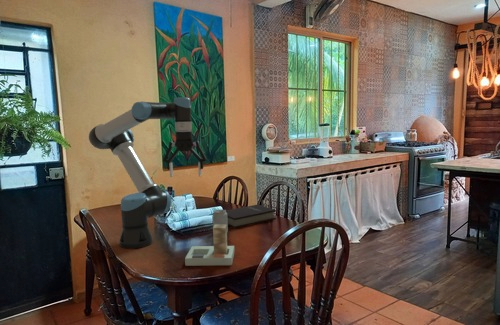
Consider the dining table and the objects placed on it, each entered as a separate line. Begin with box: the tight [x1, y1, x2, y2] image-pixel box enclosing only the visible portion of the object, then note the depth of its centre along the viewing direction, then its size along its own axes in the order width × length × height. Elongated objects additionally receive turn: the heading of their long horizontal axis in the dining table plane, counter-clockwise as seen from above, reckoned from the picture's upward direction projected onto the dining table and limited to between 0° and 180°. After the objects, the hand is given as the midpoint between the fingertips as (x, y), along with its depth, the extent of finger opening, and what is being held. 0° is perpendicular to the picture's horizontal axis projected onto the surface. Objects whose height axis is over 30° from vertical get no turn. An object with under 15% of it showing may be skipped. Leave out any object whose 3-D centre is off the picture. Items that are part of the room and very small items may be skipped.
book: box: [225, 204, 277, 229], centre depth 201 cm, size 28×20×6 cm
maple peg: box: [212, 224, 228, 255], centre depth 144 cm, size 5×5×14 cm
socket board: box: [184, 245, 235, 267], centre depth 145 cm, size 19×14×4 cm
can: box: [212, 209, 229, 233], centre depth 177 cm, size 8×8×12 cm
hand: (185, 176), depth 164 cm, fingers open, 13 cm apart
